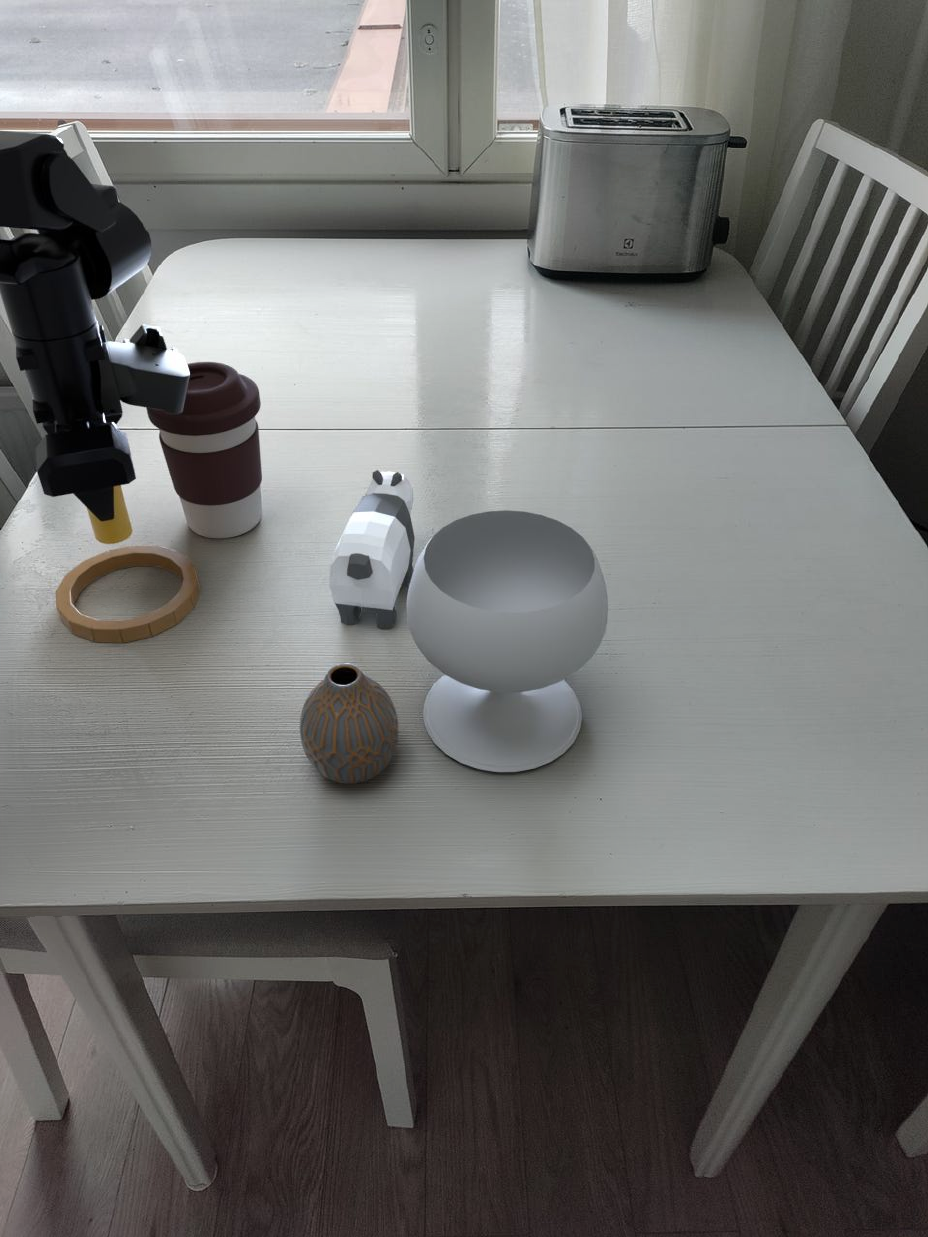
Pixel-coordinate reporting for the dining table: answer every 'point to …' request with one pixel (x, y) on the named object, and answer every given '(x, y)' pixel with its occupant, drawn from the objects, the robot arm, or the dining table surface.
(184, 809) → the dining table surface
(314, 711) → the vase
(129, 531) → the pencil stub
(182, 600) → the wooden ring
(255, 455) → the coffee cup
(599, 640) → the chalice
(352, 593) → the giant panda
